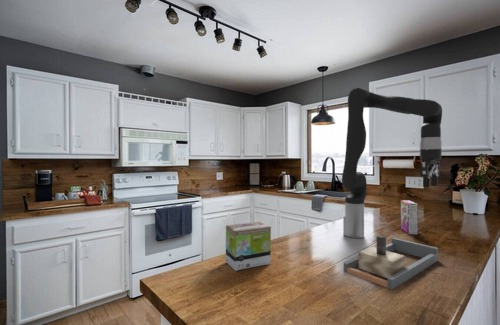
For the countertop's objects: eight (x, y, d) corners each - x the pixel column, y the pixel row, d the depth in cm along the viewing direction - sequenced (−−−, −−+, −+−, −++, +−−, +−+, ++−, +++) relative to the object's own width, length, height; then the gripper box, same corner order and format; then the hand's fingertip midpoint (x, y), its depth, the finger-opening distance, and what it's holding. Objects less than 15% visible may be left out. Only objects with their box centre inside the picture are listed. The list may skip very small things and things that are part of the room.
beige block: (358, 268, 96) (358, 235, 95) (371, 262, 101) (371, 231, 101) (392, 280, 86) (392, 243, 86) (404, 272, 91) (405, 238, 91)
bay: (343, 270, 94) (343, 257, 94) (393, 248, 117) (393, 237, 117) (392, 289, 81) (392, 273, 80) (437, 260, 103) (438, 247, 103)
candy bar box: (400, 228, 149) (400, 200, 149) (409, 229, 148) (410, 200, 148) (407, 234, 138) (408, 203, 138) (418, 234, 137) (418, 203, 137)
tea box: (235, 272, 94) (235, 231, 94) (225, 262, 103) (224, 224, 102) (271, 264, 101) (271, 225, 100) (258, 255, 110) (258, 220, 109)
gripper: (427, 149, 119) (427, 184, 119) (413, 148, 110) (413, 186, 111) (447, 148, 113) (447, 186, 113) (434, 147, 104) (434, 188, 105)
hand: (430, 186), depth 112 cm, fingers open, 8 cm apart
